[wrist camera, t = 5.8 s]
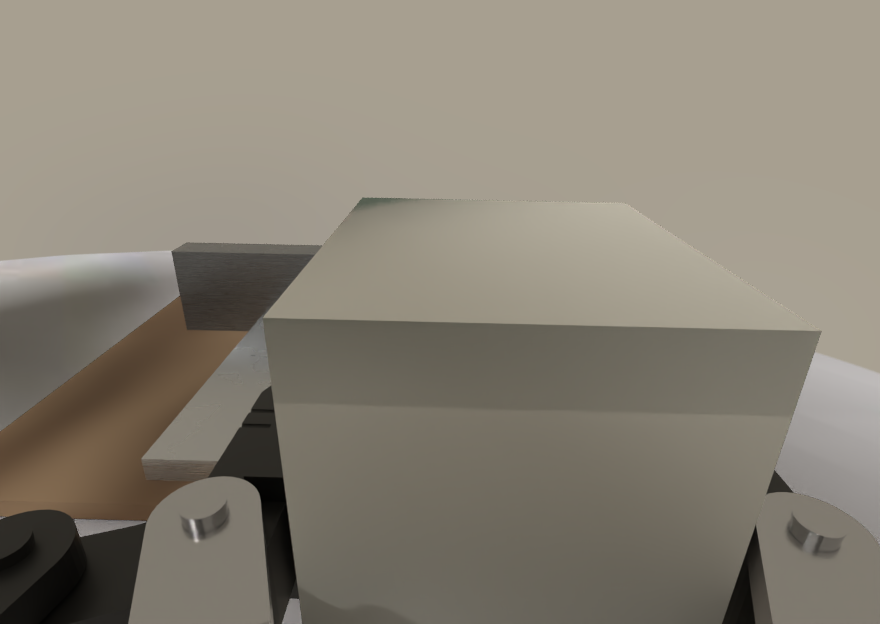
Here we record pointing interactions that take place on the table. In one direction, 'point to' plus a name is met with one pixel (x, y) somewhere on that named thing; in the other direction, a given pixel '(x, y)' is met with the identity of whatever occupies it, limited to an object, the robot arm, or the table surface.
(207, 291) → the block
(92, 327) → the table surface
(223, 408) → the rail
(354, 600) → the block
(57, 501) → the mounting board
